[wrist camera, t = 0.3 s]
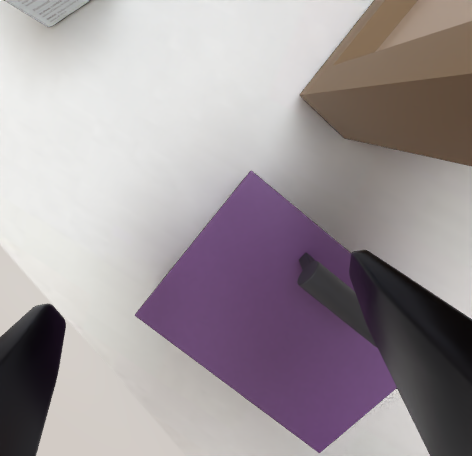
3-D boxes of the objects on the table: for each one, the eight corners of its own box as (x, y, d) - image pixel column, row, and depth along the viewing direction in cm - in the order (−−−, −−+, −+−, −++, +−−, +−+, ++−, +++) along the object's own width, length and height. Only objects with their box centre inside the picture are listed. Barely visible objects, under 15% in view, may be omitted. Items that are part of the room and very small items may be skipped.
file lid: (250, 170, 18) (247, 174, 14) (449, 334, 20) (500, 383, 16) (137, 311, 21) (106, 350, 17) (318, 446, 23) (331, 513, 18)
